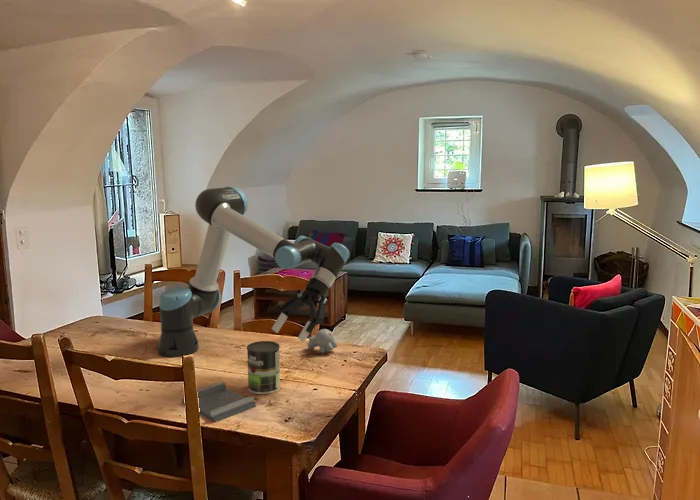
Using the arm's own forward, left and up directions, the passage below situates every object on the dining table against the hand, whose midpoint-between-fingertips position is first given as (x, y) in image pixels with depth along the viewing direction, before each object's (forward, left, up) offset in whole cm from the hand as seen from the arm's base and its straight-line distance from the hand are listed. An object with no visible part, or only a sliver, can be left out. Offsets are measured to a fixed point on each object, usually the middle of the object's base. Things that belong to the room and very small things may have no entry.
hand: (287, 335), depth 183 cm
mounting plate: (0, -26, -15) cm, 31 cm away
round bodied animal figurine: (-13, +27, -16) cm, 33 cm away
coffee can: (0, -9, -16) cm, 18 cm away
